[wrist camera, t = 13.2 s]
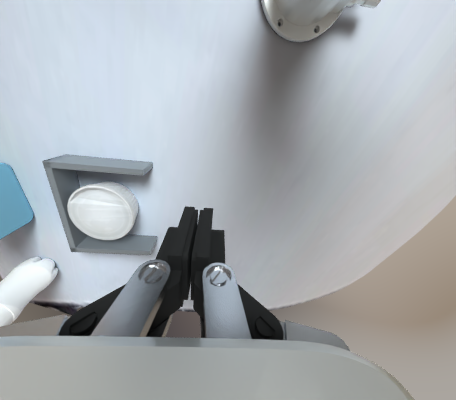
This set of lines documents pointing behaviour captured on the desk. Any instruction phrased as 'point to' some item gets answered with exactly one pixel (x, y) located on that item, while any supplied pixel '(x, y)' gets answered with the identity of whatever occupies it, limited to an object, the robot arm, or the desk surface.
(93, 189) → the ramekin
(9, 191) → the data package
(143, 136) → the desk surface
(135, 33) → the desk surface
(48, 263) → the water bottle
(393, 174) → the desk surface
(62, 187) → the box
